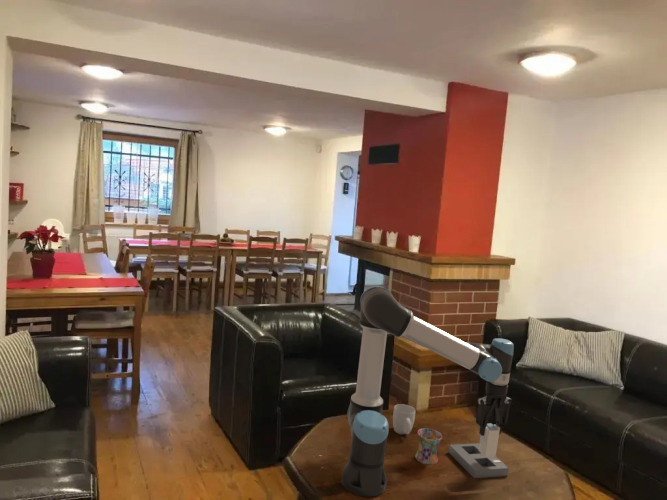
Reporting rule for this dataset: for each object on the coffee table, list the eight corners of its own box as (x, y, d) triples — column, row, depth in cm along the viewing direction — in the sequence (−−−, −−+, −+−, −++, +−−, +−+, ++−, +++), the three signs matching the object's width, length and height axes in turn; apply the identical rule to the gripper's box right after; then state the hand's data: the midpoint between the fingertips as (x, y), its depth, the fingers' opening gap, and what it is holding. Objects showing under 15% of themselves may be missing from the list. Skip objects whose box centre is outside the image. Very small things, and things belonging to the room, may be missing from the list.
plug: (485, 457, 186) (489, 428, 185) (478, 450, 191) (482, 423, 189) (495, 456, 188) (499, 428, 186) (488, 450, 192) (492, 422, 191)
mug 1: (388, 425, 220) (391, 403, 219) (409, 426, 221) (412, 404, 220) (396, 440, 207) (399, 416, 206) (418, 441, 209) (421, 417, 208)
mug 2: (441, 468, 190) (445, 441, 188) (416, 466, 189) (420, 439, 188) (433, 451, 202) (437, 426, 200) (410, 449, 201) (413, 423, 200)
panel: (473, 480, 184) (475, 469, 183) (448, 454, 201) (449, 444, 200) (507, 478, 188) (508, 467, 187) (479, 452, 205) (480, 442, 204)
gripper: (482, 386, 180) (473, 449, 182) (524, 385, 185) (515, 446, 188) (470, 378, 187) (462, 439, 190) (511, 377, 192) (502, 436, 195)
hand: (488, 442), depth 189 cm, fingers closed on plug, 4 cm apart
